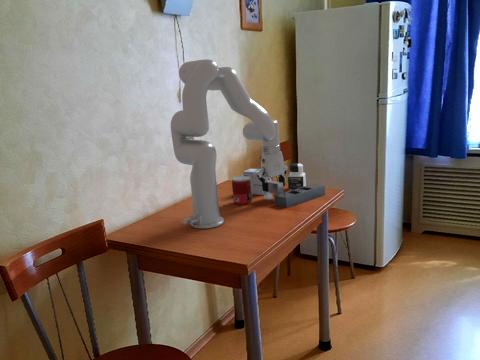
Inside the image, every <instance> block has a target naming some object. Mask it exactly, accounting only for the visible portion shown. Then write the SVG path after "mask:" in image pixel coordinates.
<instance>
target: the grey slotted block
mask: <svg viewBox="0 0 480 360" xmlns="http://www.w3.org/2000/svg"><path fill="white" fill-rule="evenodd" d="M324 195H326V185H324V184H323V185H322V184H318V183H317V184H316V183H310V184H306V186H303V187H300V188H297V189H294V190H290V191H289V190H287V191H283V193H281V194H278V195H276V194H274V195H273V197H274V198H273V201H274V206H278V207H282V208H285V207H286V209H287V207H288V208H290V206H291V207H293V206H296V205H299V204H302V203H305V202H307V201H310V200H314V199H316V198H319V197H322V196H324Z"/></svg>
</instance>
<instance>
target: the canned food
mask: <svg viewBox="0 0 480 360" xmlns="http://www.w3.org/2000/svg"><path fill="white" fill-rule="evenodd" d="M231 186H232V197H233V199H232V200H233V203H234V205H236V206H246V205H250V204H251V203H252V201H253V197H252V195H253V194H251V181H250V177H248V176H243V175H239V176H235V177H232V178H231Z"/></svg>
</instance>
